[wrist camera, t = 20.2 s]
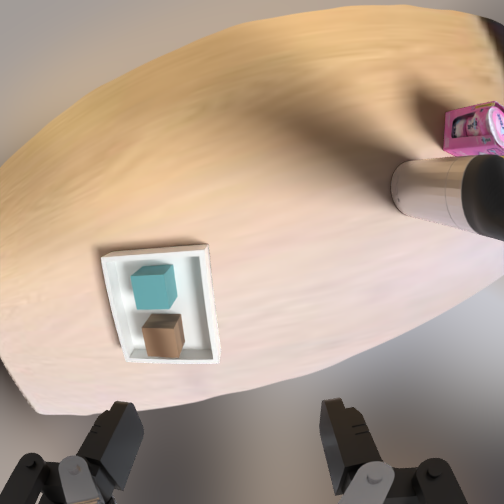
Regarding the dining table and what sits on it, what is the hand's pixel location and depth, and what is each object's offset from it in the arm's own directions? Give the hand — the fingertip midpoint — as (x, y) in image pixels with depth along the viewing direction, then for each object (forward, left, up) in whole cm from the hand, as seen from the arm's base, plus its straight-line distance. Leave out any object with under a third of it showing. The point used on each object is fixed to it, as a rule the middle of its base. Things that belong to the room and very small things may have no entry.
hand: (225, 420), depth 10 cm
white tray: (+13, +8, -33) cm, 36 cm away
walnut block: (+13, +12, -32) cm, 36 cm away
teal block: (+13, +4, -32) cm, 34 cm away
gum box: (-47, -16, -33) cm, 60 cm away
